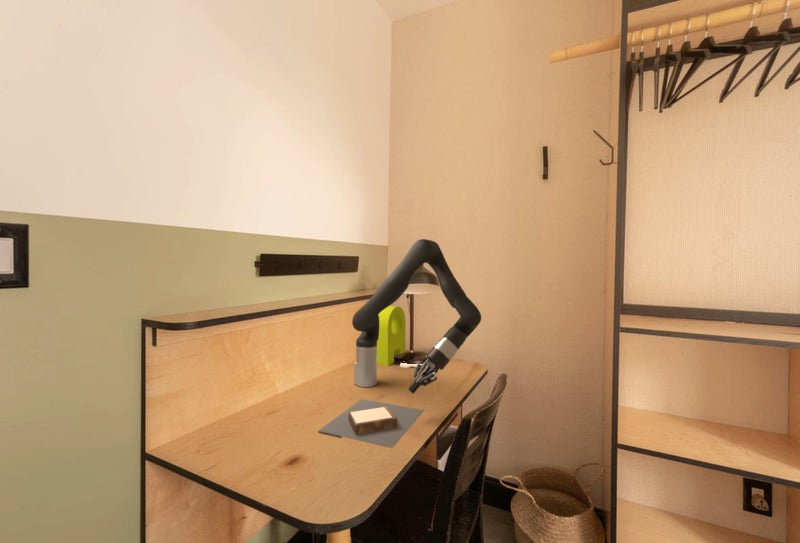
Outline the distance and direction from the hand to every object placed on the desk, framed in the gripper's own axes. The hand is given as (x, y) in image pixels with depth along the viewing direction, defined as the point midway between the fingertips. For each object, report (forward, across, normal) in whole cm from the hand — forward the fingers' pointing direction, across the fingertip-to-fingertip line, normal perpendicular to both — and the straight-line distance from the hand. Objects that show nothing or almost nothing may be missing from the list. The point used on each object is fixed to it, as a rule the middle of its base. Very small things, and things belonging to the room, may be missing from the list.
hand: (410, 391), depth 121 cm
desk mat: (+15, -3, -2) cm, 16 cm away
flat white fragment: (-16, -61, +30) cm, 70 cm away
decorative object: (-5, -70, +19) cm, 73 cm away
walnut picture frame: (+10, 0, +1) cm, 10 cm away
